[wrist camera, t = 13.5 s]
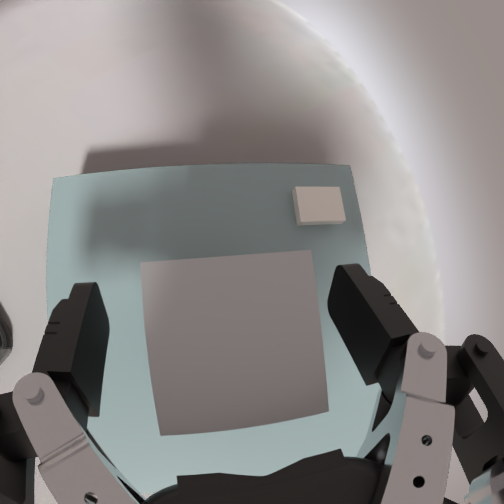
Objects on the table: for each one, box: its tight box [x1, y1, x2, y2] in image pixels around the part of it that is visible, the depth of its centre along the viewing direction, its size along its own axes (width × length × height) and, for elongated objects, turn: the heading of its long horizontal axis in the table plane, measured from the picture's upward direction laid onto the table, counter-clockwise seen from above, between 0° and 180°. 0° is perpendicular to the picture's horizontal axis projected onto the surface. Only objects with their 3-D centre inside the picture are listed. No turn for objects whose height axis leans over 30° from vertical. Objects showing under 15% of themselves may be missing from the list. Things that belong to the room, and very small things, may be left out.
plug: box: [140, 250, 329, 436], centre depth 12 cm, size 4×4×10 cm
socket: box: [46, 163, 381, 493], centre depth 15 cm, size 16×16×4 cm
